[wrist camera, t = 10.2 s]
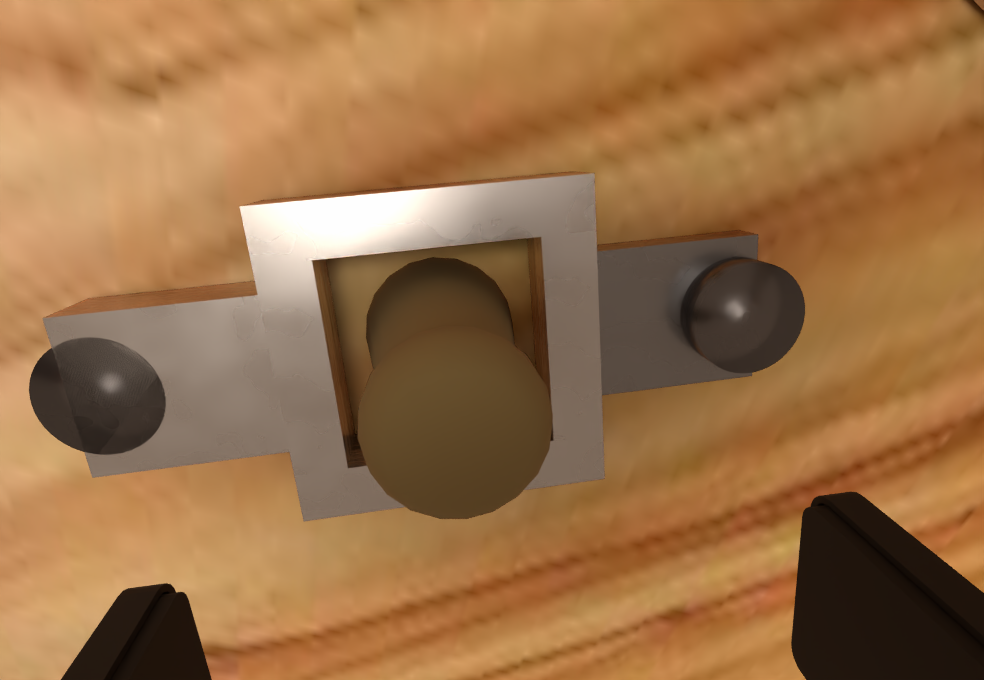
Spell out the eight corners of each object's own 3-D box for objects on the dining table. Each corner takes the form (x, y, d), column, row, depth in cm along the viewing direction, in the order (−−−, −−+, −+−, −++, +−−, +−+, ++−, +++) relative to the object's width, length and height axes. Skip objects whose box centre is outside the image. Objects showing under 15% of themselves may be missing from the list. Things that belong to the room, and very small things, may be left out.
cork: (465, 421, 27) (501, 592, 16) (339, 356, 25) (287, 499, 15) (539, 303, 25) (629, 405, 15) (412, 228, 24) (413, 283, 13)
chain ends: (769, 153, 25) (816, 152, 22) (756, 422, 28) (795, 451, 26) (30, 221, 22) (-27, 231, 19) (118, 509, 26) (81, 552, 23)
